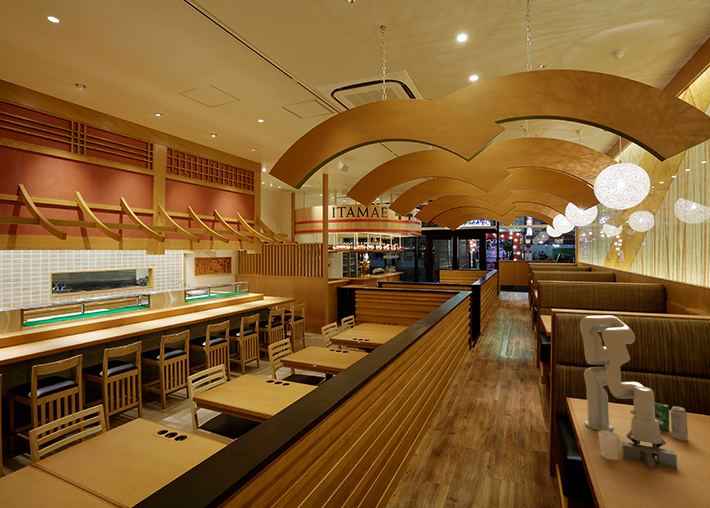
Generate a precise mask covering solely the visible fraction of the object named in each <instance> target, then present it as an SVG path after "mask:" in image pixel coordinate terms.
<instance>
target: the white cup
mask: <svg viewBox="0 0 710 508" xmlns="http://www.w3.org/2000/svg"><path fill="white" fill-rule="evenodd" d="M598 444H599V445H598V446H599V449H600V456H601V455H602V456H603V457H602V456H601V457H602V458H604V457H605V459H606V460H609V459H610V460H609V461H618V460H619V459H620V456H619V455H620V454H619V453H620V436H619V434H617V433H616V432H613V431H598ZM617 459H618V460H617Z"/></svg>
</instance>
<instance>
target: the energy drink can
mask: <svg viewBox="0 0 710 508" xmlns="http://www.w3.org/2000/svg"><path fill="white" fill-rule="evenodd" d="M670 420H671V421H670V422H671V424H670V425H671V436H672V437H673V438H674V439H675V440H677V441H680V440H681V442H687V440H688V439H689V432H688V414H687V411H686V409H685V408H684V407H681V406H675V405H674V406H672V407H671V409H670Z"/></svg>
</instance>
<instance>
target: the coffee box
mask: <svg viewBox="0 0 710 508" xmlns="http://www.w3.org/2000/svg"><path fill="white" fill-rule="evenodd" d="M654 403H655V419H656V420H657V421H658V424H659V429H660V431H661V430H662V431H665V432H670V406H669V405H668V404H664V403H658V402H654Z"/></svg>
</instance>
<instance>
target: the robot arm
mask: <svg viewBox="0 0 710 508" xmlns="http://www.w3.org/2000/svg"><path fill="white" fill-rule="evenodd" d="M579 330H580V334H581V337H582V340H583V342H582V343H583V351H584V357H585V361H586V363H587V364H589V365H595V366H592V367H588V368H586V369H585V370H584V372H583V378H584V382H585V387H586V388H585V389H586V403H587V404H586V405H587V419H585V420H584V425H585V426H586V427H587V428H590V429H592V430H595V431H598V432H599V431H610V432H612V431H613V429H614V428H613V426H614V425H612V424H610V413H609V396H608V392H607V391H606V389H605V388H604V386H608V389H609V391H610V393H611V394H612V396H613V397H615V398H616V399H620V400H621V399H622V400H623V399H624V400H625V399H626V400H627V399H633V410H629V411H630V412H629V413H630V415H631V414H632V417H631V427H630V428H631V429H630V430H629V432H628V433H627V434H625V435H626V436H625V437H626V438H627V439H628V440H630V441H631V443H633V444H639V445H640V444H641V442H643V443H647V444H651V447H655V448H660V447H662V446H665V445H667V443H666V440H664V438H663V437H662V436H661V429H659V424H658V421H657V420H656V419H655V403H656V402H655V392H654V390H653V389H652V388H650V387H646V386H644V385H643V384H641V383H640V382H638V381H622V372H621V366H622V365H624V364H626V363H628V362H629V361H630V360H631V355H630V354H629V352H628V349H627V346H626V345H631V344H634V342H635V341H636V335H635V333H634V332H633V330H632V329H631V328H630V327H629V326H628V325H627V324H626V323H624V322H623V321H622V320H621V319H619V318H618V317H617V316H614V315H587V316H585V317H584V316H583V318H581V320H580V321H579ZM598 332H600V333H601V336H600V335H599V333H598ZM601 337H602V338H601ZM602 340H603V341H602ZM602 342H603V343H604V346H603V343H602ZM597 365H598V366H597ZM599 365H601V366H599ZM602 365H604V366H602ZM640 457H642V456H641V451H640ZM656 457H657V454H655V453H653V459H656Z"/></svg>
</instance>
